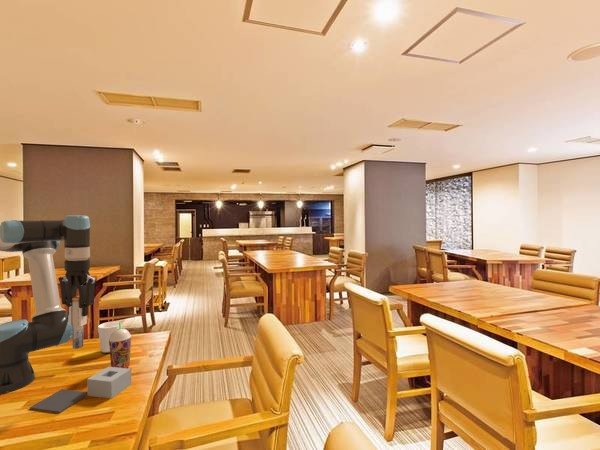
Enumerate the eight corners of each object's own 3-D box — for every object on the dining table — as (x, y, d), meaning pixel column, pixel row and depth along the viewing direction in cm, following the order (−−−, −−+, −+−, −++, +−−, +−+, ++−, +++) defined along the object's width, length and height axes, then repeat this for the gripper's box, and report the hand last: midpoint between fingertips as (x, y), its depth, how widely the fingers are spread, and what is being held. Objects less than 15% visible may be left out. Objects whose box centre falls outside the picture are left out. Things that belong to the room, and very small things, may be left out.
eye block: (87, 395, 119) (87, 379, 119) (108, 381, 129) (108, 366, 128) (111, 398, 117) (111, 381, 117) (131, 384, 127) (131, 368, 126)
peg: (76, 345, 119) (76, 295, 119) (85, 345, 119) (85, 295, 119) (70, 348, 116) (69, 298, 116) (79, 348, 116) (78, 298, 116)
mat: (29, 409, 110) (29, 407, 110) (61, 390, 122) (61, 389, 122) (59, 413, 108) (59, 411, 108) (89, 394, 120) (89, 392, 120)
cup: (104, 347, 163) (104, 321, 162) (125, 346, 164) (125, 320, 164) (94, 355, 153) (93, 328, 153) (116, 354, 154) (116, 327, 154)
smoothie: (122, 375, 134) (121, 326, 134) (104, 373, 136) (103, 324, 135) (136, 366, 142) (135, 319, 142) (119, 364, 144) (118, 318, 143)
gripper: (47, 259, 114) (48, 326, 115) (89, 261, 112) (90, 329, 113) (66, 256, 122) (66, 319, 123) (105, 258, 119) (106, 322, 120)
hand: (78, 324), depth 118 cm, fingers closed on peg, 3 cm apart
